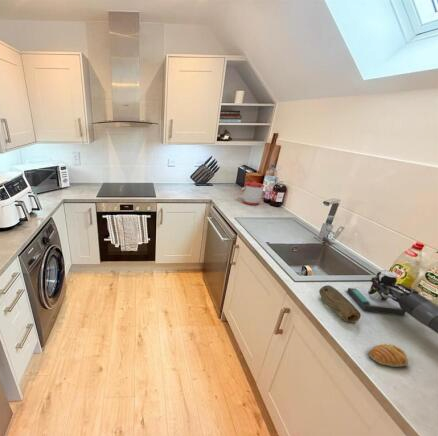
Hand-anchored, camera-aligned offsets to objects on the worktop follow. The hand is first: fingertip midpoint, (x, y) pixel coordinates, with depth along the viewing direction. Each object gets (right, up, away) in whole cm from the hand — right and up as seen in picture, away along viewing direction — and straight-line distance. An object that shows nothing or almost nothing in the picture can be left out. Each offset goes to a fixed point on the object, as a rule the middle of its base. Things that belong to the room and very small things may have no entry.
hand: (376, 279), depth 96 cm
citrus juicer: (-3, +38, +113) cm, 119 cm away
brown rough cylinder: (-18, -12, -2) cm, 22 cm away
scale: (0, -10, +1) cm, 10 cm away
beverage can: (0, -8, 0) cm, 8 cm away
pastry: (-17, -20, -21) cm, 34 cm away
